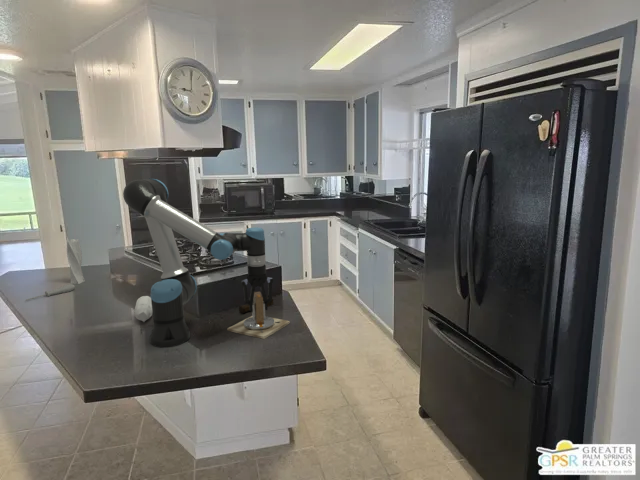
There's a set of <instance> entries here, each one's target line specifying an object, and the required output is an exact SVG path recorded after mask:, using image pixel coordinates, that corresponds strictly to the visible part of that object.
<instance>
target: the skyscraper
mask: <svg viewBox="0 0 640 480" xmlns="http://www.w3.org/2000/svg"><path fill="white" fill-rule="evenodd" d="M82 254H83V253H82V249H81V244H80V241H79V238H77V239H74V238H73V239H69V238H68V236H67V237H66V257H67V262H68V264H69V268H70V284H73V285H74V284H75V285H79V284H82V283H84V282H86V280H85V277H84V274H83V270H82V262H83V261H82V260H83V255H82Z"/></svg>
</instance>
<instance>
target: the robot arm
mask: <svg viewBox="0 0 640 480" xmlns="http://www.w3.org/2000/svg"><path fill="white" fill-rule="evenodd" d="M122 196H123V200H124V203H125V204H126V205H127V206H128V207H129V208H130V209H132V210H133V211H134V212H136V213H138V214H139V215H140V216H141V217H142V218H143V217H144V219H145V221H146V225H147V227H148V230H149V234H150V237H151V241H152V242H153V246H154V250H155V251H156V255H157V258H158V262H159V264H160V268H161V271H162V274H161V276H160V279H161V281H157V282H155V283H154V284H152V285H151V288H150V295H149V297H151V303H152V313H153V314H152V321H153V322H152V323H153V325H152V329H151V334H150V336H149V343H150V344H151V345H152V346H154V347H159V348H166V347H167V348H168V347H169V348H170V347H175V346H179V345H182V344H185V343H186V342H187V341H189V340H190V338H191V333H190V329H189V327H188V325H187V323H186V321H185V314H184V313H185V312H184V306H185V305H186V304H187V303H188V302H190V301H191V300H192V299H193V298H194V296H195V294H196V293H197V290H198V284H197V281H196V278H195V277H194V276H193V275H191V274H190V273H191V272H190V271H189V269H188V268H187V267H185V266H184V263H183V261H182V257H181V255H180V251H179V248H178V245H177V241H176V238H175V235H174V232H176V233H178V234H180V235H182V237H185V238H187V239H188V240H190V241H191V242H194V243H195V244H197V245H199V246H201V247H202V248H204V249H205V250H206V251H207V250H208V251H209V252H210V253H211V256H212V257H213V258H215V259H216V260H219V261H221V260H226V259H228V258H230V257H231V256H232V255H233V254H234V253H235V252H246V257H247V258H246V261H247V263H246V264H247V277H246V278H245V279H241V284H242V288H243V289H242V290H243V296H244V297H243V299H244V303H245V305H246V304H249V310H250V311H249V312H250V313H251V314H252V315H251V316H252V318H253V320H255V308H254V300H253V297H254V292H256V288H257V287H260V292H261V294H262V296H263V299H264V302H263V313H264V318H265V316H266V311H268V307H267V303H268V302H269V301H271V300H272V299H273V297H272V295H273V293H272V292H273V289H272V288H273V287H272V286H273V283H274V278H273V277H269V276H268V275H267V265H266V237H265V230H264V228H262V227H259V226H258V227H247V228H246V229H245V232H242V233H241V232H237V233H236V232H223V233H221V232H220V233H218V232H217V231H215V230H213V229H212V228H210V227H208V226H206V225H205V224H203V223H201V222H200V221H198V220H196V218H195V219H194V218H193V217H191V216H190V215H188V214H186V213H185V212H183V211H181V210H179V209H177V208H176V207H174V206H172V205H171V204H169V203H168V199H169V190H168V187H167V186H166V184H165V183H164V182H162V181H161V180H159V179H157V178H156V179H155V178H151V177H150V178H143V179H142V178H141V179H134V180H131V181H130V182H128V183H127V184H126V185H125V186H124V189H123V194H122ZM173 231H174V232H173ZM266 282H267V294H266V290H265V283H266ZM248 283H249V284H250V285H251V286H250V293H249V296H248V289H247V285H248ZM266 297H268V298H266Z"/></svg>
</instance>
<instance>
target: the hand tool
mask: <svg viewBox="0 0 640 480" xmlns="http://www.w3.org/2000/svg"><path fill="white" fill-rule="evenodd" d="M266 298H268V296H266ZM263 302H264V299H263ZM273 305H274V299H273V298H272V300H271V301H269V302H268V303H267V308H268V307H270V306H273ZM238 312H239V313H240V314H244V313H245V314H246V313H248V312H250V310H249V304H246V303H245V304H244V305H239V306H238Z"/></svg>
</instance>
